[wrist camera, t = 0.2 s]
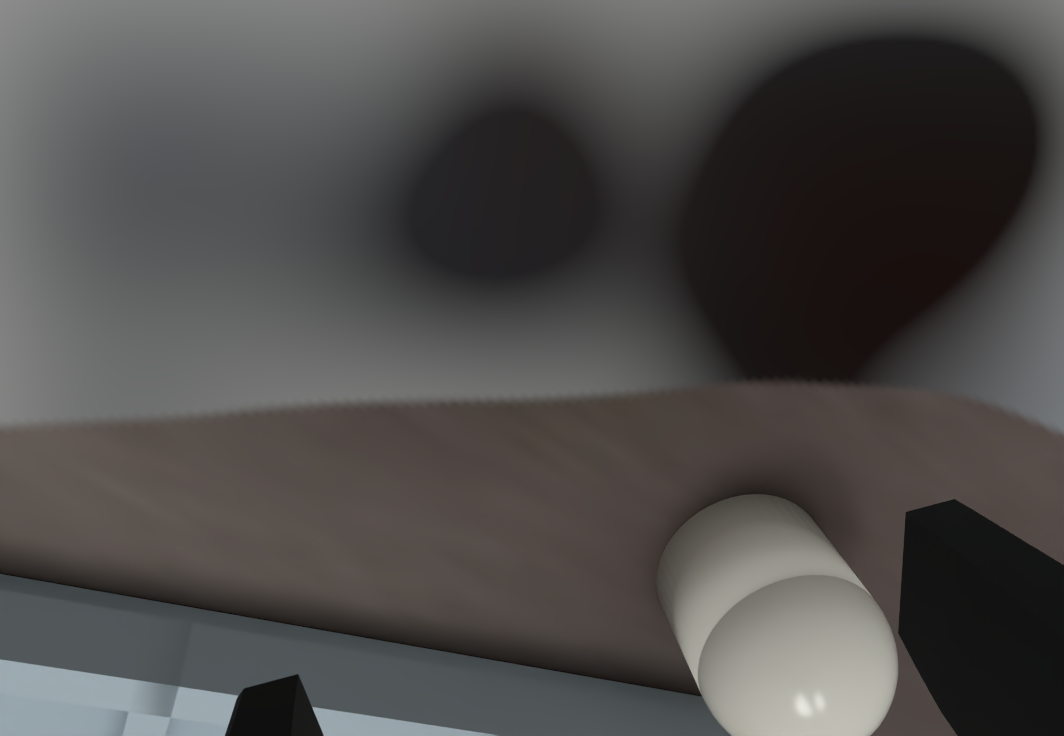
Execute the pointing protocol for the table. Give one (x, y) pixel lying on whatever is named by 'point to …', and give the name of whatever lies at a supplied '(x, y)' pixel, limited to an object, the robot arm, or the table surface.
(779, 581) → the cream egg
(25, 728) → the egg carton
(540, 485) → the table surface
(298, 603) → the table surface
